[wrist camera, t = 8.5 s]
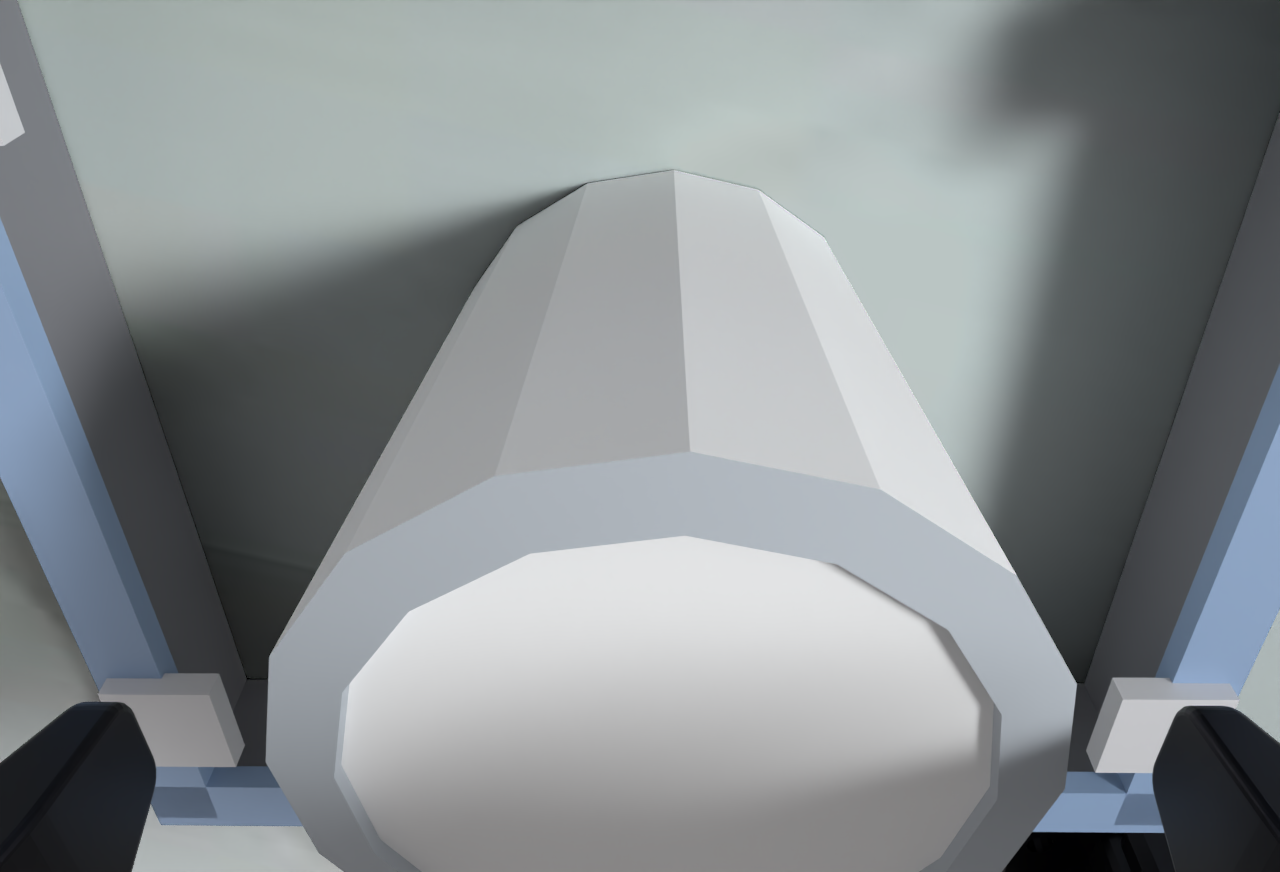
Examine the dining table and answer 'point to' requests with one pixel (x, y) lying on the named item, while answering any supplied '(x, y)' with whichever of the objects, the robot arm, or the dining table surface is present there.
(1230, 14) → the dining table surface
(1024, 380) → the dining table surface
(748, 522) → the light grey cup
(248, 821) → the two-slot open tray
